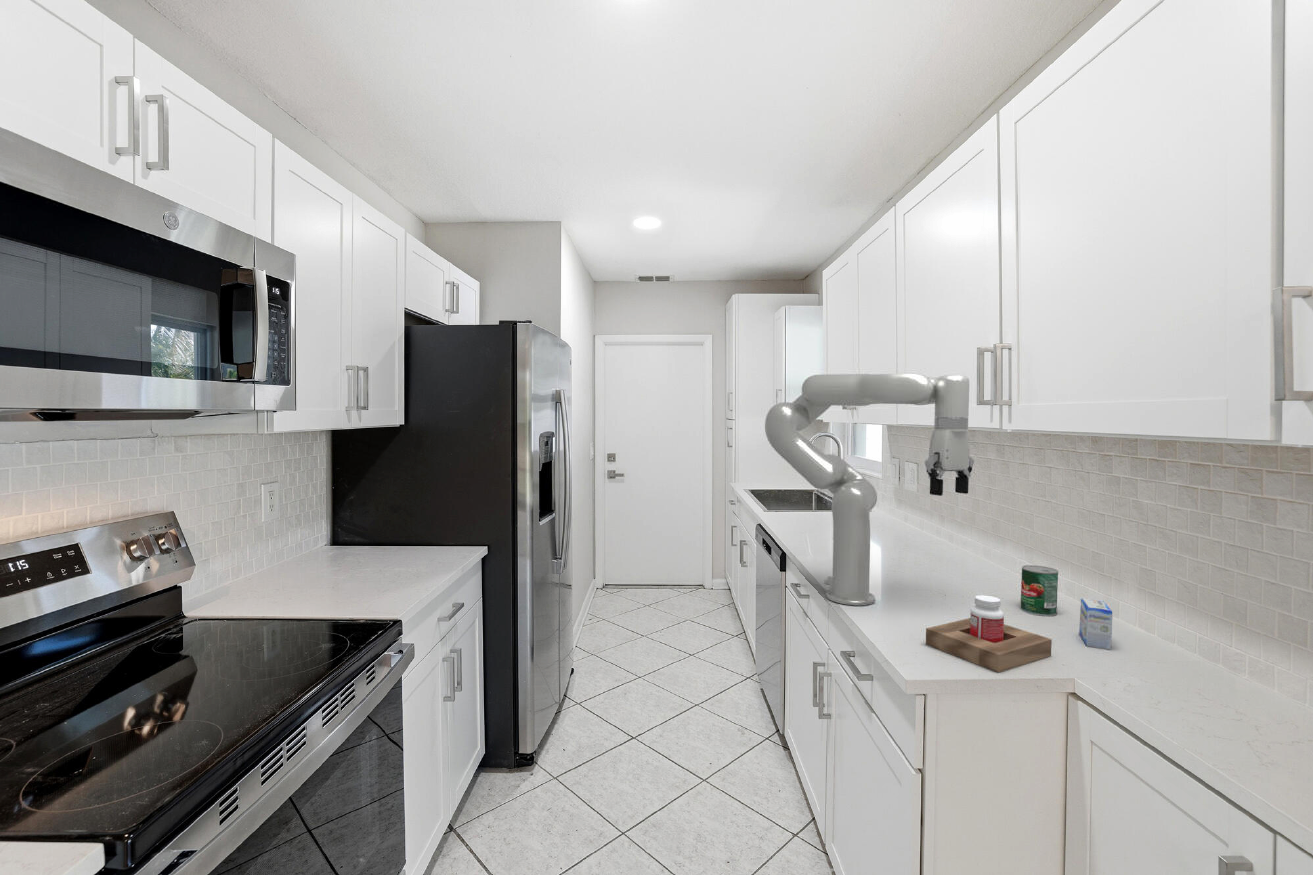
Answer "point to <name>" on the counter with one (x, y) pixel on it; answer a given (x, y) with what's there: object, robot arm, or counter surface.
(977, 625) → the pill bottle
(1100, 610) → the medicine box
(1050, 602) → the canned tomato
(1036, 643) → the walnut frame
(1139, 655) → the counter surface
